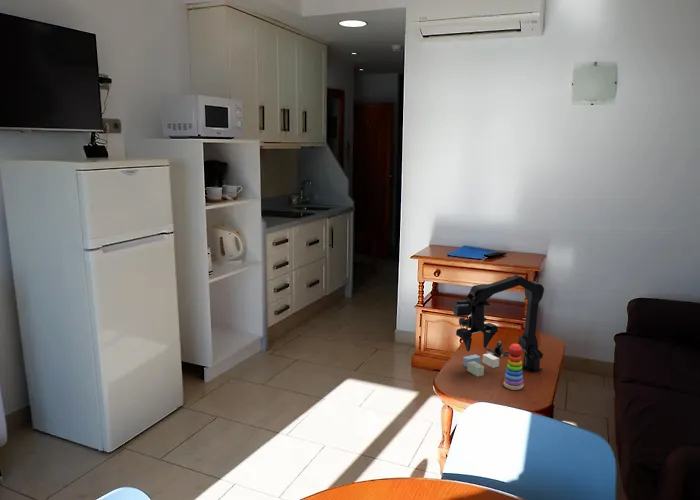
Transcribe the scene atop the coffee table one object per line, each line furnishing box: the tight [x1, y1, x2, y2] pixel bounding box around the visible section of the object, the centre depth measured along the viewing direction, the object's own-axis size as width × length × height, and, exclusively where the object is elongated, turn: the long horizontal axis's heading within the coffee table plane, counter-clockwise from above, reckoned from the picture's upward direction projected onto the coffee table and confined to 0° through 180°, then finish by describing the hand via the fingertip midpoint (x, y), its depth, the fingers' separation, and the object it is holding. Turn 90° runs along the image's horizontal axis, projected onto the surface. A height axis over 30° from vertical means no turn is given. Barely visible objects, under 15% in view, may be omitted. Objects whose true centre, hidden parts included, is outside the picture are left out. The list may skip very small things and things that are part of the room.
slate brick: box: [462, 354, 482, 368], centre depth 246 cm, size 7×4×4 cm, turn 115°
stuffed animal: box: [484, 340, 510, 359], centre depth 260 cm, size 12×10×12 cm
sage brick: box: [466, 361, 485, 378], centre depth 237 cm, size 7×4×4 cm, turn 25°
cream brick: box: [482, 352, 500, 369], centre depth 246 cm, size 7×4×4 cm, turn 26°
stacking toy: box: [503, 343, 524, 391], centre depth 222 cm, size 8×8×19 cm
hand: (476, 349), depth 236 cm, fingers open, 9 cm apart
